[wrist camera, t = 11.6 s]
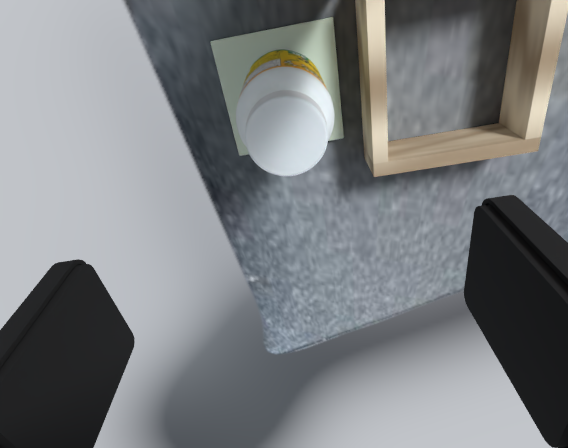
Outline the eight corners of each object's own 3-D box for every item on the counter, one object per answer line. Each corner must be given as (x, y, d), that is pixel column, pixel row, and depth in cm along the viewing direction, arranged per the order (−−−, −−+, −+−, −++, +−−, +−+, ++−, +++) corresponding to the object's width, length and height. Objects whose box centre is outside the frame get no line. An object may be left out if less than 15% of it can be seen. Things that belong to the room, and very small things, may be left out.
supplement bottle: (229, 75, 25) (206, 118, 17) (298, 30, 23) (308, 53, 15) (271, 140, 27) (267, 205, 19) (335, 103, 26) (360, 157, 18)
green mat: (211, 40, 24) (210, 41, 24) (332, 16, 23) (333, 17, 23) (239, 154, 28) (239, 155, 28) (343, 136, 28) (343, 138, 27)
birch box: (353, -26, 22) (364, -28, 19) (543, -65, 21) (585, -73, 18) (364, 157, 29) (374, 177, 26) (510, 133, 28) (537, 151, 25)
